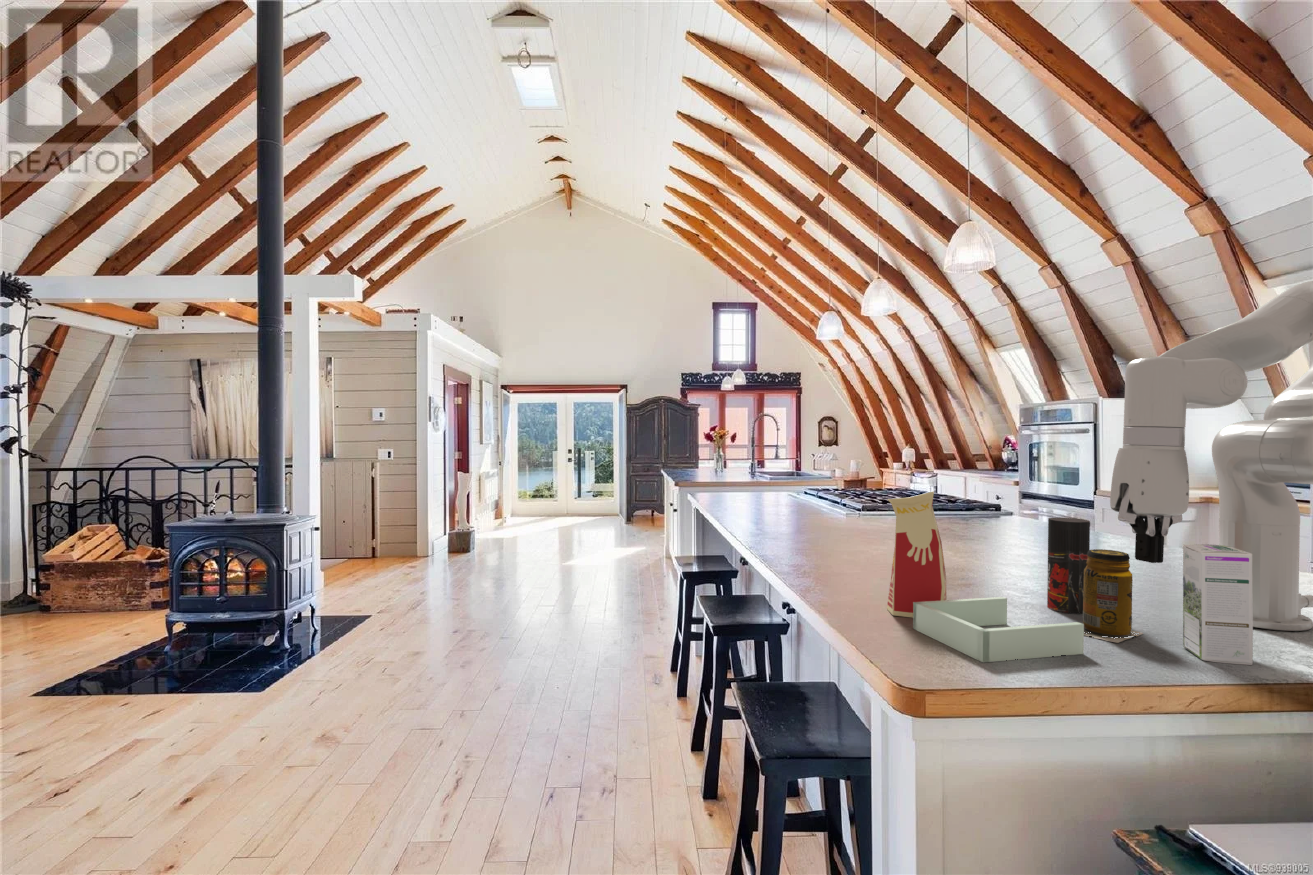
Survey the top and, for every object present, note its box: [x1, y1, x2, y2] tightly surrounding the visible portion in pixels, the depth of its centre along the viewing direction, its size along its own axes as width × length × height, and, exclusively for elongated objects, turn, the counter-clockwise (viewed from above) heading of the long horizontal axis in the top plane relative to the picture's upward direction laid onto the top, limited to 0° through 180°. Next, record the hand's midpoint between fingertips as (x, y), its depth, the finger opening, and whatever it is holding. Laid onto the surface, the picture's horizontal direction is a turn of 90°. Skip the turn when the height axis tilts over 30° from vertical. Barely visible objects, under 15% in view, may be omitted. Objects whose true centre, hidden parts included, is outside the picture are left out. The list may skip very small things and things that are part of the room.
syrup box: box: [1182, 543, 1254, 666], centre depth 89 cm, size 6×6×14 cm
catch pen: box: [912, 596, 1085, 663], centre depth 95 cm, size 16×15×4 cm
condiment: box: [1082, 548, 1144, 644], centre depth 99 cm, size 7×8×12 cm
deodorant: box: [1046, 517, 1091, 615], centre depth 112 cm, size 6×6×15 cm
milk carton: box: [886, 490, 948, 619], centre depth 110 cm, size 9×9×20 cm
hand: (1148, 561), depth 101 cm, fingers closed
